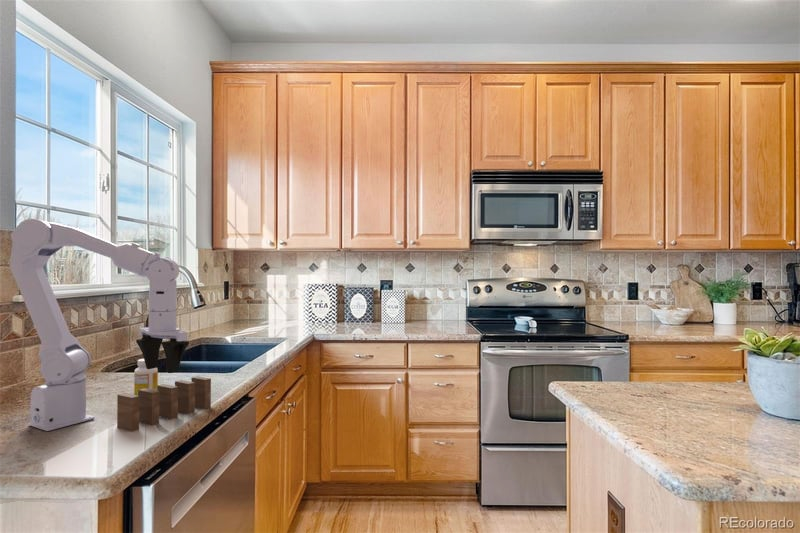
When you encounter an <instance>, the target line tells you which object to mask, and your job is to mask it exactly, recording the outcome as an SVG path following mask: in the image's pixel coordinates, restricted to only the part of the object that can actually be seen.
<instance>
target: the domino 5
mask: <svg viewBox="0 0 800 533" xmlns="http://www.w3.org/2000/svg"><path fill="white" fill-rule="evenodd" d="M190 380H191V381H190V382H195V408H197V409H202V410H208V409H211V408H212V406H211V405H212V401H211V400H212V379H211V377H210V378H209V377H203V376H197V375H196V376H192V377H191V379H190Z"/></svg>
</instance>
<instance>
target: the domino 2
mask: <svg viewBox="0 0 800 533" xmlns="http://www.w3.org/2000/svg"><path fill="white" fill-rule="evenodd" d="M138 396H139V424H144V425H148V426H155V425H159V424H160V417H159V391H156V390H151V389H146V388H144V389H139V390H138Z"/></svg>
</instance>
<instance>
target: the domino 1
mask: <svg viewBox="0 0 800 533" xmlns="http://www.w3.org/2000/svg"><path fill="white" fill-rule="evenodd" d="M116 401H117V403H116V405H117V408H116V409H117V412H116V413H117V414H116V420H117V422H116V424H117V426H116V427H117V429H120V430H125V431H127V432H131V433H132V432H136V431H139V430H140V422H139V396H137V395H134V394H132V393H128V392H123V393H119V394H117V400H116Z"/></svg>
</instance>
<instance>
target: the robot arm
mask: <svg viewBox="0 0 800 533" xmlns="http://www.w3.org/2000/svg"><path fill="white" fill-rule="evenodd" d="M10 238H11V241H12V246H11V252H10V258H9V264H8V265H9V268H10V272H11V273H12V275H13V278H14V280H15V283H16V286H17V287H18V290H19V292H20V294H21V297H22V299H23V302H24V305H25V307H26V309H27V311H28V313H29V316H30V318H31V322H32V323H33V325H34V326H33V327H34V328H35V330H36V332H37V334H38V335H37V336H38V337H39V339H40V340H39V341H40V342H41V344H40V347H39V351H38V356H39V359H40V367H39V369H40V370H39V371H40V375H41V376H42V378H43V379H44V380H45V383H44V384H41V385H37V386H35V387H34V388H32V390H31V393H30V400H29V401H30V402H29V405H30V408H29V412H30V413H29V415H30V416H29V417H30V418H29V420H30V422H29V423H28V426H30V427H34V428H37V429H40V430H43V431H45V432H49V431H53V430H56V429H57V430H58V429H61V428H64V427H68V426H72V425H76V424H79V423H83V422H88V421H91V420H94V419H95V417H96V416H94V415H91V414H87V412H86V411H87V375H86V373H85V371H87V370H88V369H89V367H90V365H91V356H90V355H91V354H90V353H89V351H87V350H86V349H85V348H84V347H83V346H82V345H81V343H80V341H79V339H77V338H76V337H75V336H74V335H73V334H72V333H71V331H70V329H69V327H68V325H67V322H66V319H65V318H64V314H63V313H62V309H61V307H60V305H59V303H58V300H57V298H56V295H55V294H54V290H53V288H52V286H51V283H50V282H49V278H48V276H47V274H46V272H45V268H44V267H45V265H46V264H47V263H48V261H49V260H50V259H51V257H52V256H53V255H54V254H56V253H57V252H59V251H60V250H61V249H63V248H64V247H69V248H70V247H79V248H82V249H84V250H87V251H90V252H93V253H95V254H99V255H102V256H103V257H107V258H110V259H111V260H112V262H113V264H114V266H115V267H116V268H119V269H122V270H124V271H127V272H130V273H132V274H134V275H137V276H139V277H143V278H144V277H145V278H147V280H149V290H148V326H147V327H140V328H139V329H138V334H139V337H141V338H137V339H136V340H135V342H136V344H137V346H138V348H139V349H140V351H141V354H142V356H143V359H144V360H145V364H146V368H147V369H153V368H157V369H158V364H159V356H160V349H161V346H162V348H163V351H164V354H165V361H166V362H165V363H166V364H165V365H166V371H167V374H173V373H177V372H179V368H180V365H181V362H182V358H183V355H184V353H185V351H186V349H187V347H188V346H189V344H190V340H188V331H183V330H181V328H179V327H177V321H178V318H177V317H178V316H177V312H178V311H177V310H178V309H177V307H178V306H177V305H178V304H177V303H178V302H177V301H178V290H177V278H178V277H179V274H180V267H179V265H178V263H177V262H176V260H175V261H174V260H173V259H172V258H170V257H161V253H159V252H158V251H155V252H151V251H149V250H146V249H145V248H141V247H140V246H141V244H139V243H136V242H132V243H131V244H130V243H129V242H128V243H127V242H126V243H123V244H120V245H117V244H115V243H112V242H111V241H108V240H106V239H103V238H101V237H98V236H97V235H94V234H92V233H89V232H87V231H85V230H83V229H79V228H76V227H72V226H68V225H64V224H60V223H58V222H53V221H52V222H51V221H44V220H40V219H39V218H38V219H37V218H27V219H24V220H23V221H21V222H19V224H18V225H17V226H16V227H15V229H13V231H12V232H11V234H10ZM163 340H166V341H163ZM167 340H168V341H167Z"/></svg>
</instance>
